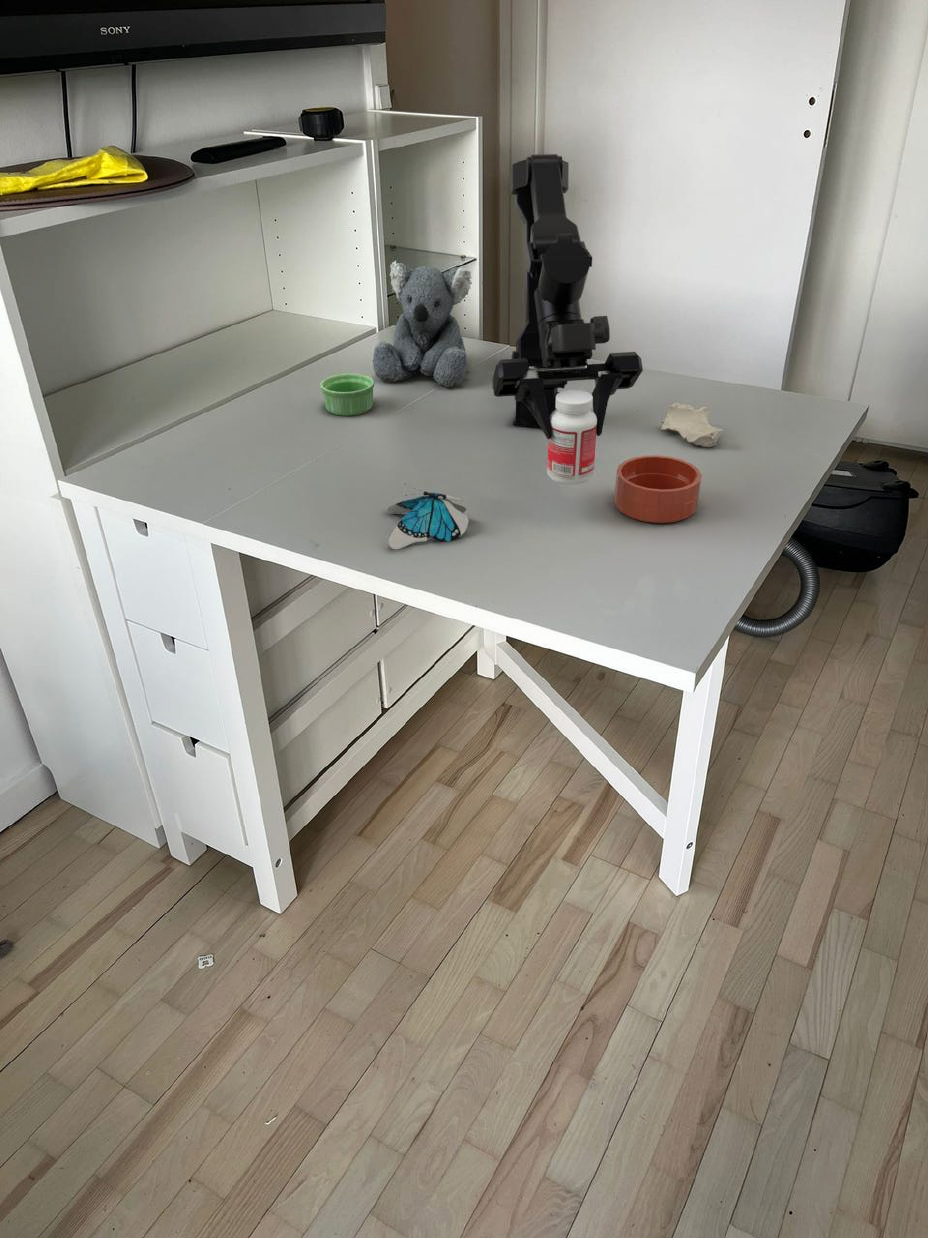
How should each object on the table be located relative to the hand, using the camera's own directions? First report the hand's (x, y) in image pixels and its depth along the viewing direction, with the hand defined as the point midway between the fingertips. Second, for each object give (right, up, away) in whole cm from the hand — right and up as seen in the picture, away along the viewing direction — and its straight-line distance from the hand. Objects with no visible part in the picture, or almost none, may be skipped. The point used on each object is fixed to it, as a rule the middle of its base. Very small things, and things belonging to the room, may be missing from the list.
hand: (574, 436), depth 123 cm
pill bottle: (0, -4, +5) cm, 7 cm away
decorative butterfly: (-19, -12, +5) cm, 23 cm away
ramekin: (-34, +13, +41) cm, 55 cm away
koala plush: (-21, +23, +56) cm, 64 cm away
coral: (+22, +5, +29) cm, 36 cm away
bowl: (+12, -8, +10) cm, 17 cm away
